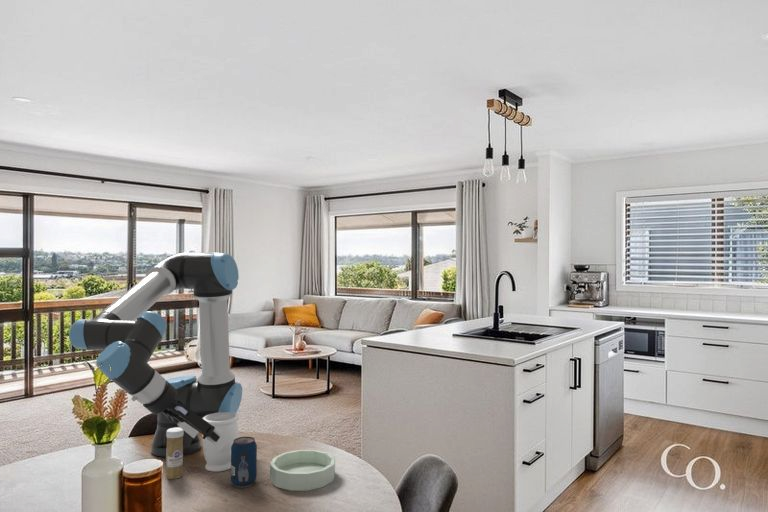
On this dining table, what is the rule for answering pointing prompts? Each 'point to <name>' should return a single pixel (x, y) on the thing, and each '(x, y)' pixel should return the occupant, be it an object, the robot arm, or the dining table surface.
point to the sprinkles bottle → (174, 453)
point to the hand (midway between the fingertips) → (209, 439)
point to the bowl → (302, 470)
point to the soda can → (243, 461)
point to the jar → (227, 429)
